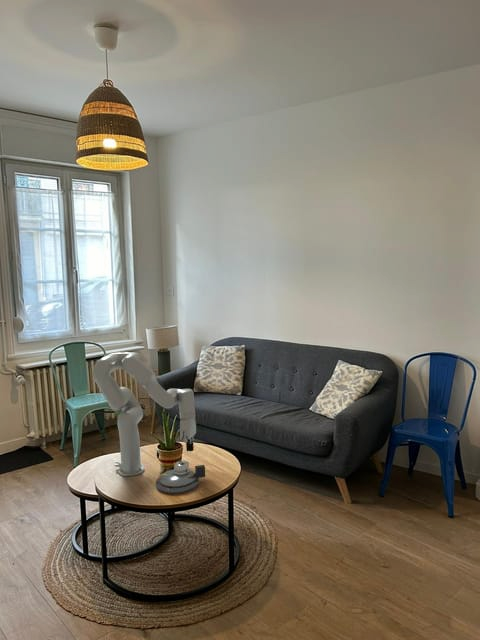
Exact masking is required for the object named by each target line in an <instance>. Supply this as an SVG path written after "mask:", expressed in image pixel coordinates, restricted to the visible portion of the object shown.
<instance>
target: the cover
mask: <svg viewBox="0 0 480 640" xmlns="http://www.w3.org/2000/svg"><path fill="white" fill-rule="evenodd" d="M190 470H191V469H190V462H189V461H185V460H181V461H180V460H178V461H177V462H176V463H175V462H174V474H175V475H186V474H188V473H189V472H190Z"/></svg>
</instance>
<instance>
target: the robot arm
mask: <svg viewBox="0 0 480 640" xmlns="http://www.w3.org/2000/svg"><path fill="white" fill-rule="evenodd" d="M116 370H123V371H125V372H126V373H127V374H128V375H129V376H130V377H131V378H133V379H135V380H136V381H137V383H139V384H140V385H141V386H143V389H144V390H145V391H146V393H147V394H148V396H149V397H150V398H151V400H152V401H154V402H155V403H157V404H158V405H159V406H160V407H162V408H164V409H168V410H169V409H171V408H173V407H174V406H175V405H177V404H178V406H179V407H178V409H179V419H180V420H179V437H180V440H183V443H185V445H186V446H185V448H186V452H193V451H194V450H195V448H194V447H195V446H194V438H195V437H194V436H195V435H196V433H197V423H196V408H195V393H194V390H193V388H192V389H191V388H182V389H181V388H169V389H167V390H166V389H165V388H164V387H162V386H161V384H160V383H159V382H158V380H157V376H156V373H155V371H154V370H152V369H151V368H149V366H147V365H146V364H145V363H144V357H143V355H141V354H140V353H139V352H134V351H133V352H112V353H109V354H106V355H104V356H103V357H101V358H100V359H98V360H97V361H96V362H95V364H94V366H93V369H92V378H93V380H94V382H95V383H96V385H97V387H98V388H99V390H100V392H101V394H102V395H103V397H104V398H105V400H106V402H107V404H108V405H109V407H110V408H111V409H112V410H114V411H120V410H122V411H121V413H120V414H119V415H118V417H117V420H116V424H117V429H118V430H117V431H118V435H119V449H120V450H119V451H120V461H119V460H116V461H115V463H114V467H115V468H119V469H118V470H117V471H118V474H119V475H120V476H122V477H133V476H137V475H139V474H142V473H143V472H144V471H145V466H144V465H142V464H141V463H142V462H141V446H140V433H139V427H138V424H139V423H140V422H141V420H142V419H143V416H144V410H143V408H142V406H141V404H140V403H139V401H138V400H137V398H136V396H135V394H134V393H133V391H132V390H131V389H130V388H128V387H126V386H119V384H118V382H117V380H116V379H115V378H114V377H113V376H112V375H111V374H112V373H113V372H114V371H116Z"/></svg>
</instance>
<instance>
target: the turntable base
mask: <svg viewBox="0 0 480 640" xmlns="http://www.w3.org/2000/svg"><path fill="white" fill-rule="evenodd" d="M199 485H200V478H196V480H195V481H194V482H193V483H192V484H190V485H187V486H184V487H179V488H169V487H165V486H162V485H161V484H160V483H159V477H158V478H157V479H156V480H155V488H156V490H157V491H159V492H160V493H163V494H166V495H181V494H186V493H188V492H192V491H193V490H195V489H197V488H198V487H199Z"/></svg>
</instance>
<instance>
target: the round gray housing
mask: <svg viewBox="0 0 480 640" xmlns="http://www.w3.org/2000/svg"><path fill="white" fill-rule="evenodd" d="M158 478H159V483H160V484H161V485H162V486H165V487H169V488H179V487H184V486H187V485H190V484H192V483H193V482H194V481H195V480H196V478H199V479H201V478H206V465H205V464H200V465H194V471H193V470H191V469H190V472H189V473H188V474H186V475H175V474H174V469H173V470H165V472H163V473H161V474H160V475H159V476H158Z"/></svg>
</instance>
